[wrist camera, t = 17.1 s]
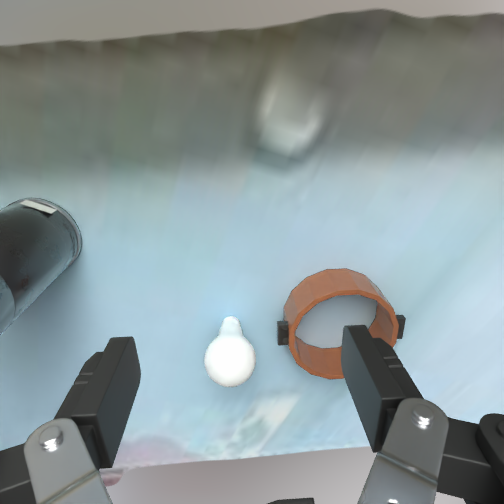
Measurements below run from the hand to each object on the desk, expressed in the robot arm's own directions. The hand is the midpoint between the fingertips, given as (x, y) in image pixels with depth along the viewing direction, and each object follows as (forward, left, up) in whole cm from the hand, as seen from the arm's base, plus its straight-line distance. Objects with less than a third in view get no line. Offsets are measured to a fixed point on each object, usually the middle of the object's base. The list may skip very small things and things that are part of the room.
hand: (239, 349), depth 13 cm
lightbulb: (-2, -20, -30) cm, 36 cm away
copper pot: (+12, -20, -30) cm, 38 cm away
